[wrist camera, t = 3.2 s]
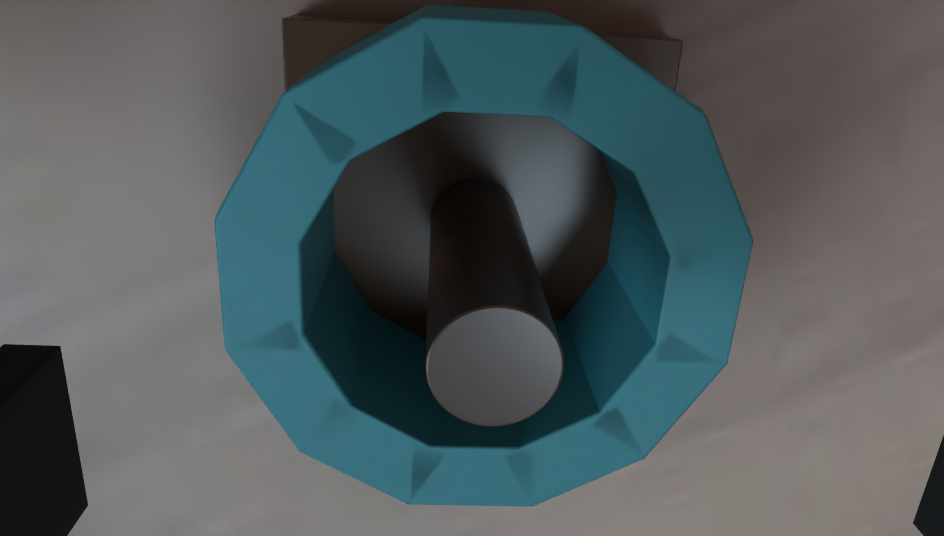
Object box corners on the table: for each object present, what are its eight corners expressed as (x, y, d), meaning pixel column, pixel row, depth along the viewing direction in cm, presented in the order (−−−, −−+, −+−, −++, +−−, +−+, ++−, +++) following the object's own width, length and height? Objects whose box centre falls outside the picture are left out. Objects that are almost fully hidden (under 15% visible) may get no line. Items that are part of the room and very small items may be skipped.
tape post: (304, 350, 23) (220, 587, 14) (293, 14, 19) (169, 52, 10) (618, 359, 23) (725, 592, 15) (666, 35, 20) (848, 86, 11)
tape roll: (279, 389, 22) (236, 502, 17) (259, -5, 18) (195, 4, 13) (643, 398, 22) (696, 510, 18) (706, 20, 18) (797, 36, 14)
